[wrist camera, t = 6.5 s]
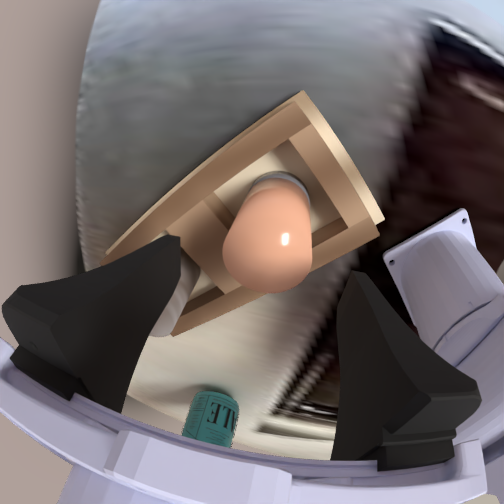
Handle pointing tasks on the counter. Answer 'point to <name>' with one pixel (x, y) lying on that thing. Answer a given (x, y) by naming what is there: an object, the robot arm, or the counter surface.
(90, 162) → the counter surface
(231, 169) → the socket holder
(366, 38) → the counter surface
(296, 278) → the peach rounded capsule
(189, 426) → the beverage bottle
